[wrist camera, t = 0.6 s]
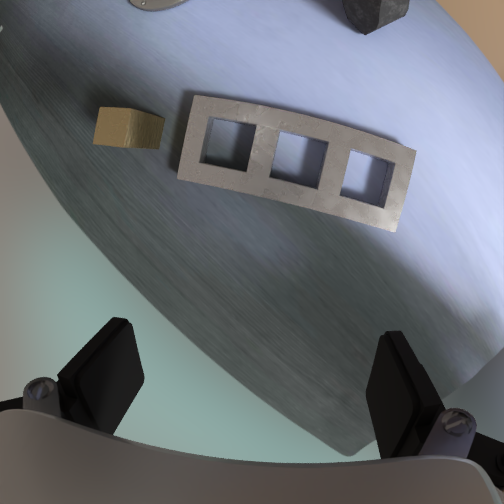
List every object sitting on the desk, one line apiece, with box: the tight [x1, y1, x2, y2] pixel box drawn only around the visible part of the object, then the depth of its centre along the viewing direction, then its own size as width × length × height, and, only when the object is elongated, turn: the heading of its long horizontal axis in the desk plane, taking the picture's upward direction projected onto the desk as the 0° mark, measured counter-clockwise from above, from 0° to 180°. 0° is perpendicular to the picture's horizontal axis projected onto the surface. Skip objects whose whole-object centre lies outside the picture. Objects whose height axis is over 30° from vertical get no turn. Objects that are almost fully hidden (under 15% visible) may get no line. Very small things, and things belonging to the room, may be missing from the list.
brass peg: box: [93, 107, 165, 149], centre depth 30 cm, size 4×4×9 cm
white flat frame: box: [177, 95, 416, 232], centre depth 33 cm, size 26×10×2 cm, turn 78°
